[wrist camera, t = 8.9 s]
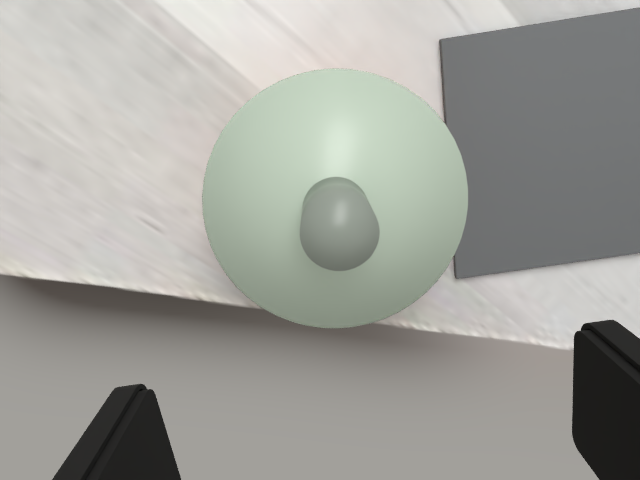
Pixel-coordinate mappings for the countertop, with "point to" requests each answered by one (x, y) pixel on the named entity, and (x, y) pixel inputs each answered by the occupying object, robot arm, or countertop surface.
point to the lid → (335, 198)
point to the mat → (547, 141)
